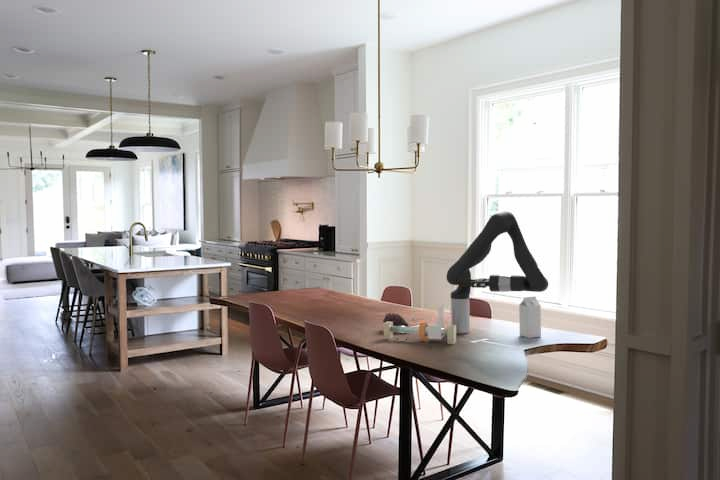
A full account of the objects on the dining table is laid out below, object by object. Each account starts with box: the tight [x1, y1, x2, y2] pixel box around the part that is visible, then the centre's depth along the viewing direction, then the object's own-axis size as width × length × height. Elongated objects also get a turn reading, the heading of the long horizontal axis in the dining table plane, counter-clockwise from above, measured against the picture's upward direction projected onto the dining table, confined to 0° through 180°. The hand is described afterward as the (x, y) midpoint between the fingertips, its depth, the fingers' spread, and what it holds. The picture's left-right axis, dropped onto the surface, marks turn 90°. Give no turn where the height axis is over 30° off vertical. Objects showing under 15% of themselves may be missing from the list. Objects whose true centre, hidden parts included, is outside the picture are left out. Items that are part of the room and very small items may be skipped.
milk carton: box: [518, 296, 542, 339], centre depth 277 cm, size 7×7×19 cm
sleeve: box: [427, 304, 445, 340], centre depth 269 cm, size 6×6×15 cm
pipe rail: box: [383, 321, 457, 345], centre depth 272 cm, size 34×9×8 cm, turn 68°
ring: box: [418, 321, 429, 340], centre depth 272 cm, size 2×8×8 cm, turn 158°
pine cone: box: [382, 312, 410, 327], centre depth 296 cm, size 18×10×10 cm
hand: (464, 282), depth 263 cm, fingers open, 8 cm apart
